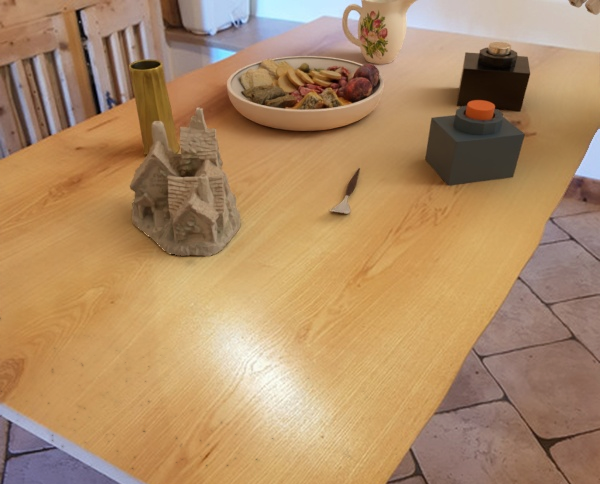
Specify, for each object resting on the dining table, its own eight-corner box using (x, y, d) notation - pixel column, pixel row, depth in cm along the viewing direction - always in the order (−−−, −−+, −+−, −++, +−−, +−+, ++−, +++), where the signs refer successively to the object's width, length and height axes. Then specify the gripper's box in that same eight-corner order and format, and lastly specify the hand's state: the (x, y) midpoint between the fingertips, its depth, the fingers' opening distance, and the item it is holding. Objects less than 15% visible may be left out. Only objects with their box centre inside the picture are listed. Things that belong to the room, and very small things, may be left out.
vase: (151, 162, 91) (133, 73, 81) (138, 148, 95) (119, 62, 85) (185, 152, 93) (171, 66, 84) (171, 139, 97) (156, 55, 88)
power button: (508, 52, 106) (511, 42, 104) (509, 58, 103) (511, 48, 101) (487, 50, 106) (489, 41, 105) (487, 57, 103) (489, 47, 102)
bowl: (223, 140, 97) (219, 95, 92) (233, 80, 119) (230, 42, 114) (392, 136, 97) (397, 92, 92) (370, 78, 120) (373, 39, 115)
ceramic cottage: (148, 188, 84) (128, 92, 73) (253, 201, 82) (248, 104, 71) (105, 253, 73) (75, 152, 62) (225, 269, 71) (215, 167, 60)
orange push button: (484, 110, 84) (487, 98, 83) (497, 120, 81) (500, 108, 80) (460, 112, 84) (462, 101, 82) (472, 123, 81) (475, 111, 80)
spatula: (367, 172, 88) (368, 160, 86) (345, 224, 76) (345, 212, 75) (351, 170, 88) (352, 158, 87) (326, 222, 77) (327, 209, 75)
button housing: (485, 152, 92) (498, 99, 86) (513, 177, 86) (528, 122, 80) (424, 159, 91) (433, 106, 85) (447, 186, 84) (458, 129, 78)
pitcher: (351, 47, 137) (354, -15, 128) (419, 57, 130) (428, -8, 121) (331, 59, 130) (333, -6, 121) (402, 71, 123) (410, 3, 114)
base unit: (518, 93, 113) (530, 46, 107) (520, 111, 105) (533, 63, 99) (458, 88, 115) (467, 42, 109) (456, 106, 108) (465, 58, 102)
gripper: (745, -50, 64) (640, 44, 69) (629, -73, 80) (549, 6, 84) (732, -95, 61) (622, 8, 66) (613, -110, 76) (531, -26, 81)
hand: (580, 6), depth 75 cm, fingers open, 3 cm apart
